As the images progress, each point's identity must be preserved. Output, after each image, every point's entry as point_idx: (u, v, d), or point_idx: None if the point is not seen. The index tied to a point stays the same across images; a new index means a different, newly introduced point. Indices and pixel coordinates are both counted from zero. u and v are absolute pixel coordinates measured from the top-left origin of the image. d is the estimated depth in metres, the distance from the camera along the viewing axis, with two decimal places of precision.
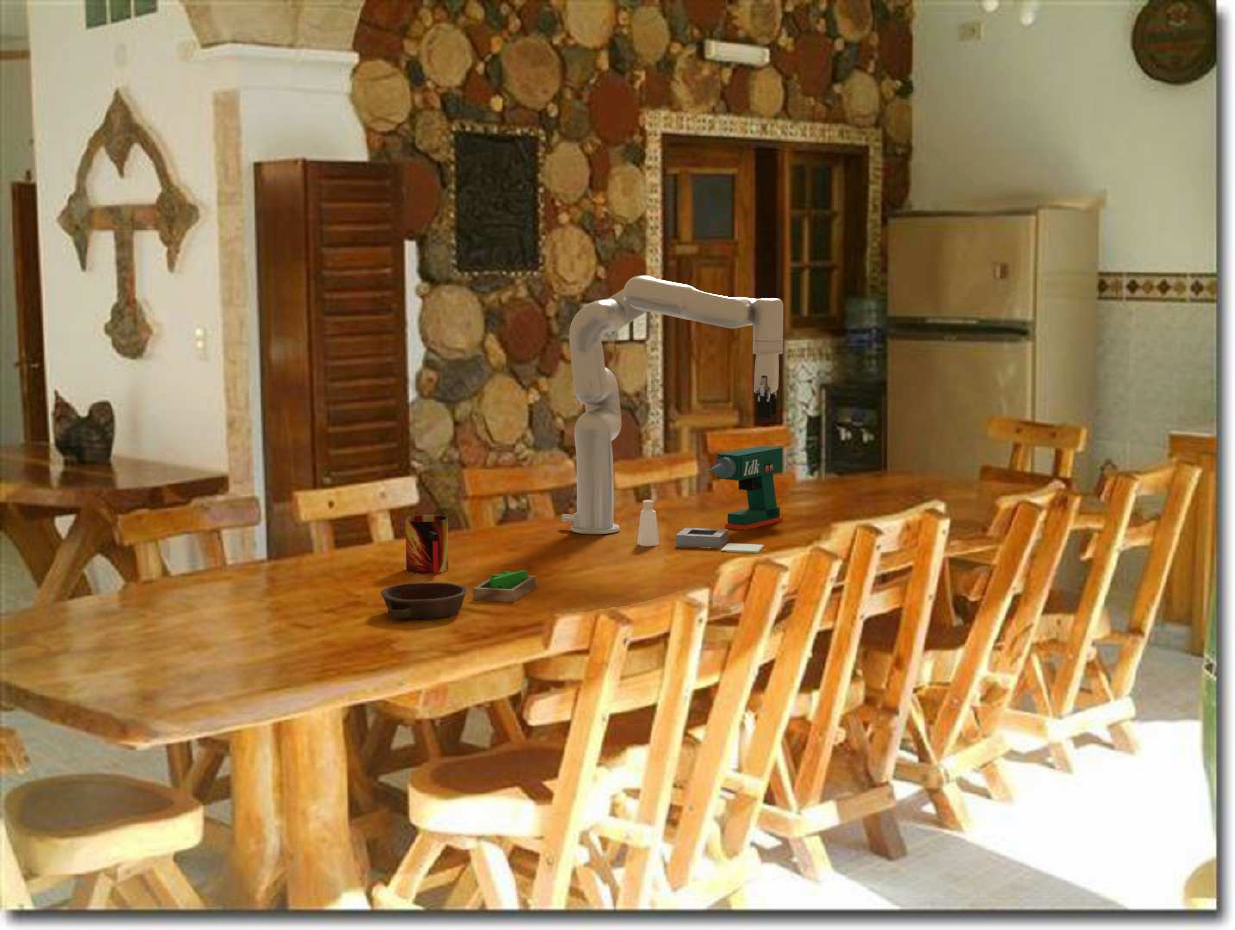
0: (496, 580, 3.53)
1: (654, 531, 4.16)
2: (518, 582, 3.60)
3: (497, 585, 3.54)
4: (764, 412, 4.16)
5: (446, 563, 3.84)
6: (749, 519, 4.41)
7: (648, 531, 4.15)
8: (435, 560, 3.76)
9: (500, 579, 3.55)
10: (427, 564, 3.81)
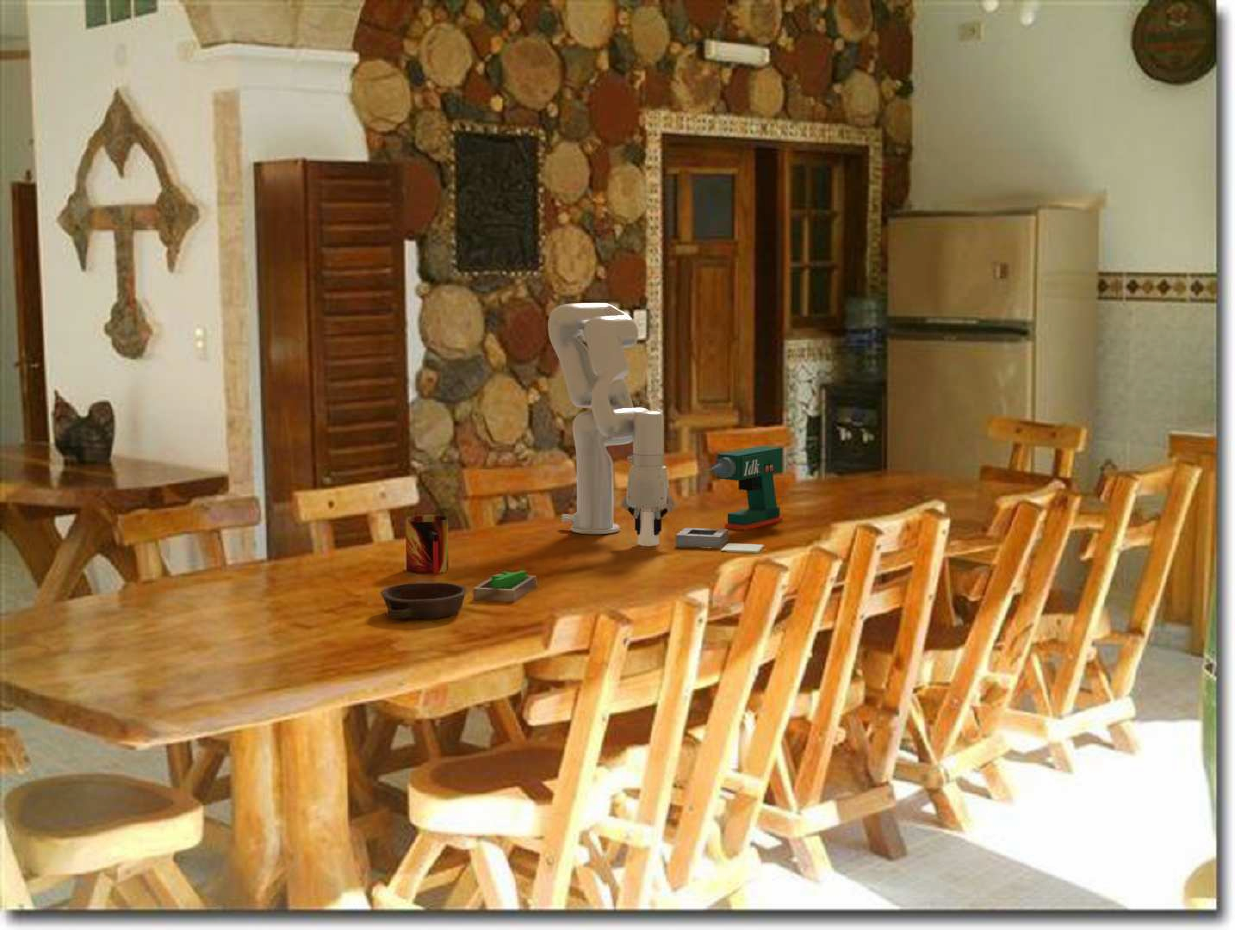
0: (499, 581, 3.53)
1: None
2: (519, 582, 3.59)
3: (500, 586, 3.53)
4: (661, 528, 4.17)
5: (446, 563, 3.84)
6: (749, 519, 4.41)
7: (648, 531, 4.15)
8: (435, 560, 3.76)
9: (503, 580, 3.54)
10: (427, 564, 3.81)
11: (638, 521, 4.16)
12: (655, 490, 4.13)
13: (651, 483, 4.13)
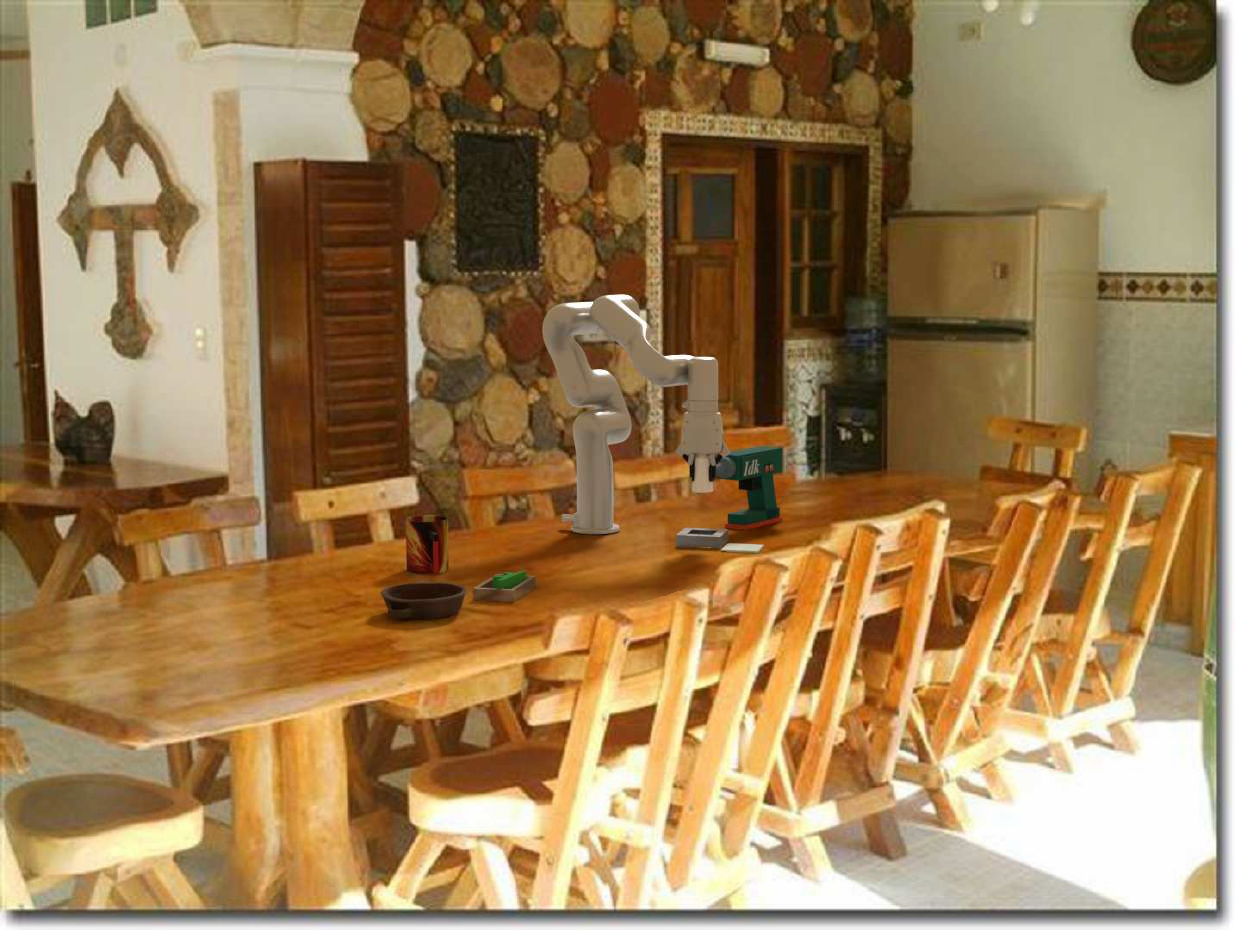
0: (502, 581, 3.52)
1: None
2: (519, 583, 3.59)
3: (503, 586, 3.53)
4: (715, 475, 4.15)
5: (446, 563, 3.84)
6: (749, 519, 4.41)
7: (703, 477, 4.13)
8: (435, 560, 3.76)
9: (505, 580, 3.53)
10: (427, 564, 3.80)
11: (693, 468, 4.14)
12: (710, 436, 4.11)
13: (706, 429, 4.11)
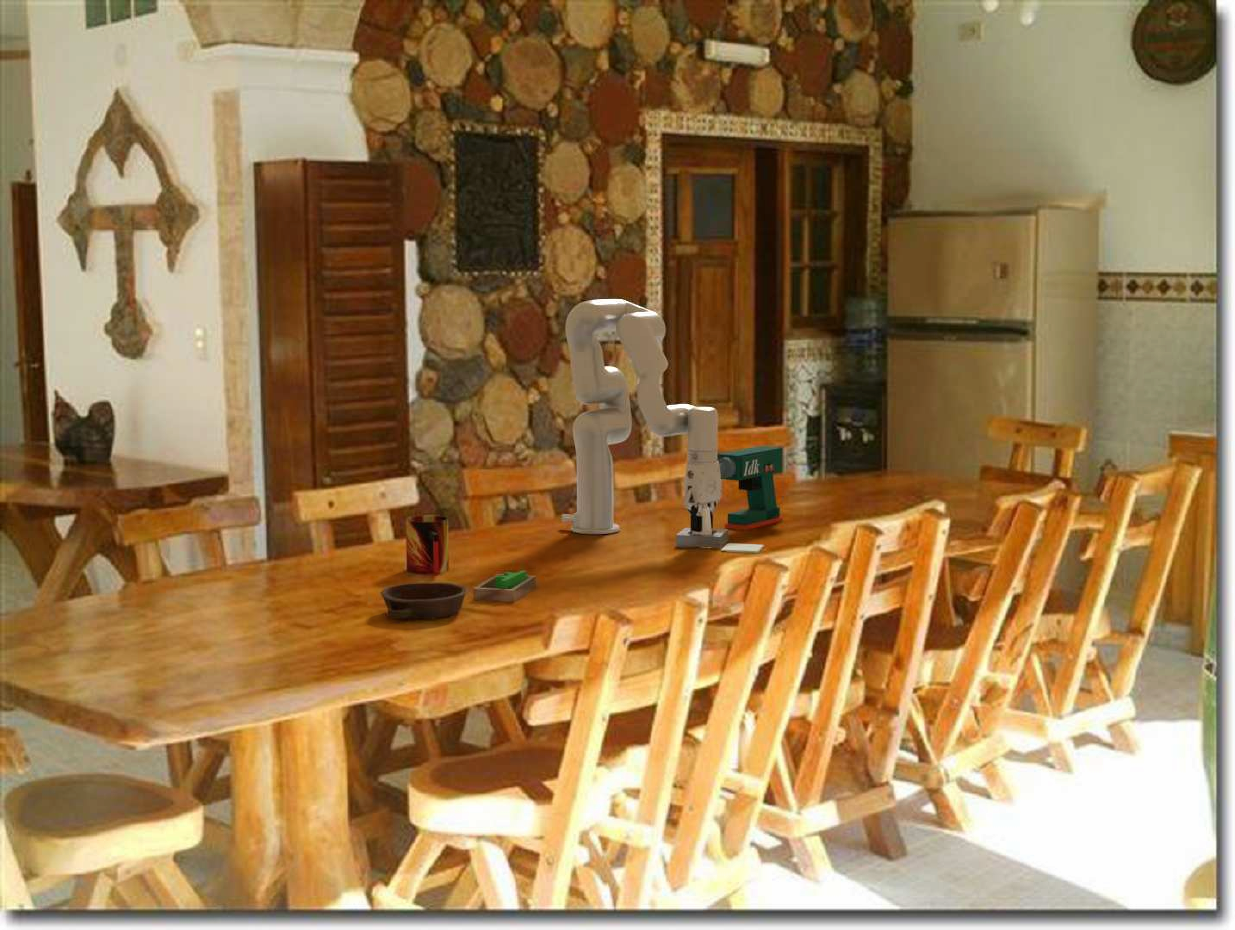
0: (506, 581, 3.52)
1: None
2: None
3: (507, 586, 3.52)
4: None
5: (446, 563, 3.84)
6: (749, 519, 4.41)
7: (710, 526, 4.16)
8: (436, 560, 3.76)
9: (509, 580, 3.53)
10: (427, 564, 3.80)
11: (701, 518, 4.14)
12: (717, 484, 4.16)
13: (714, 478, 4.15)
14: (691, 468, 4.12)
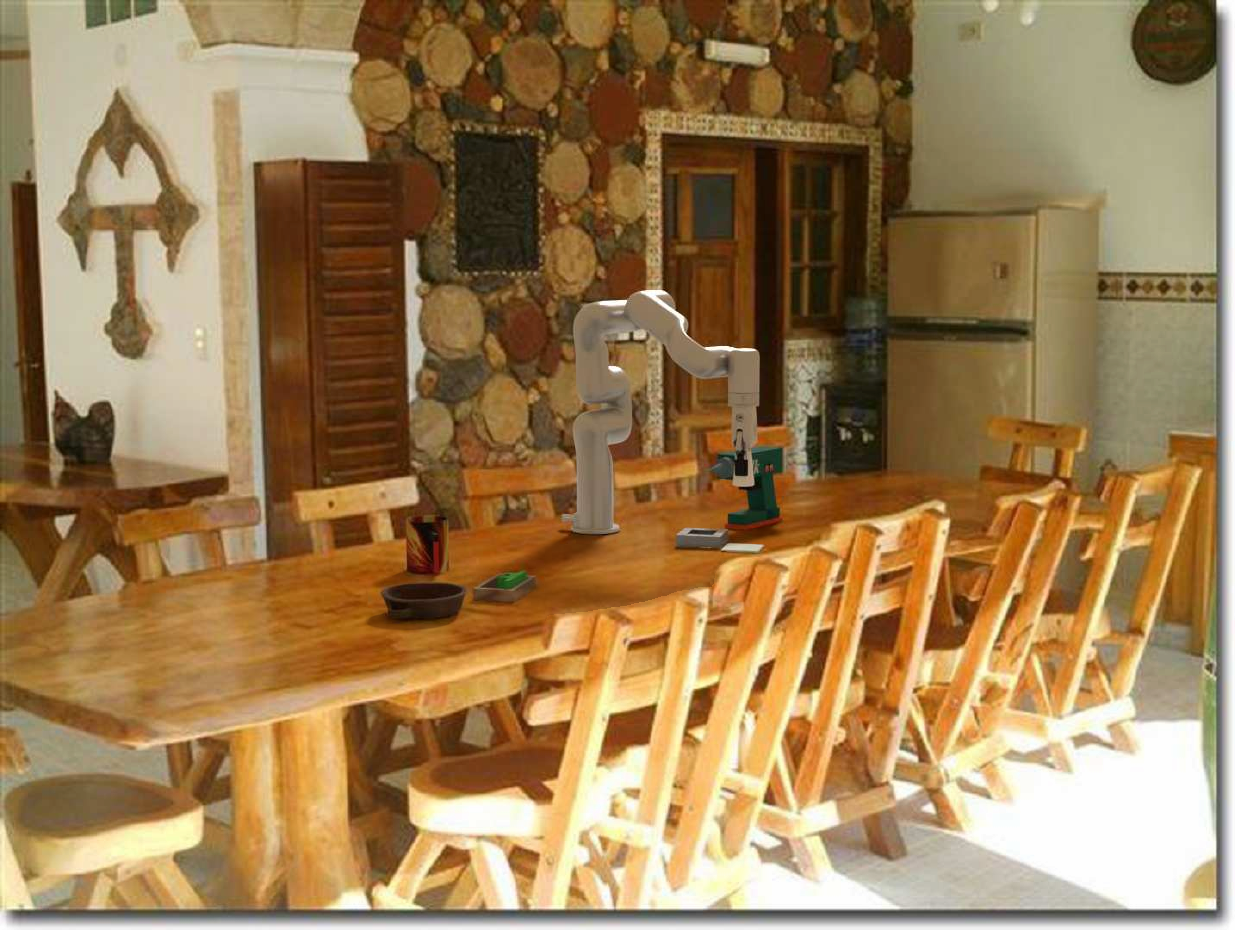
0: (510, 582, 3.52)
1: None
2: None
3: (510, 587, 3.52)
4: None
5: (447, 564, 3.84)
6: (749, 519, 4.41)
7: (752, 470, 4.08)
8: (436, 561, 3.75)
9: (512, 580, 3.53)
10: (428, 565, 3.80)
11: (747, 462, 4.06)
12: (756, 427, 4.09)
13: (755, 420, 4.07)
14: (740, 411, 4.02)
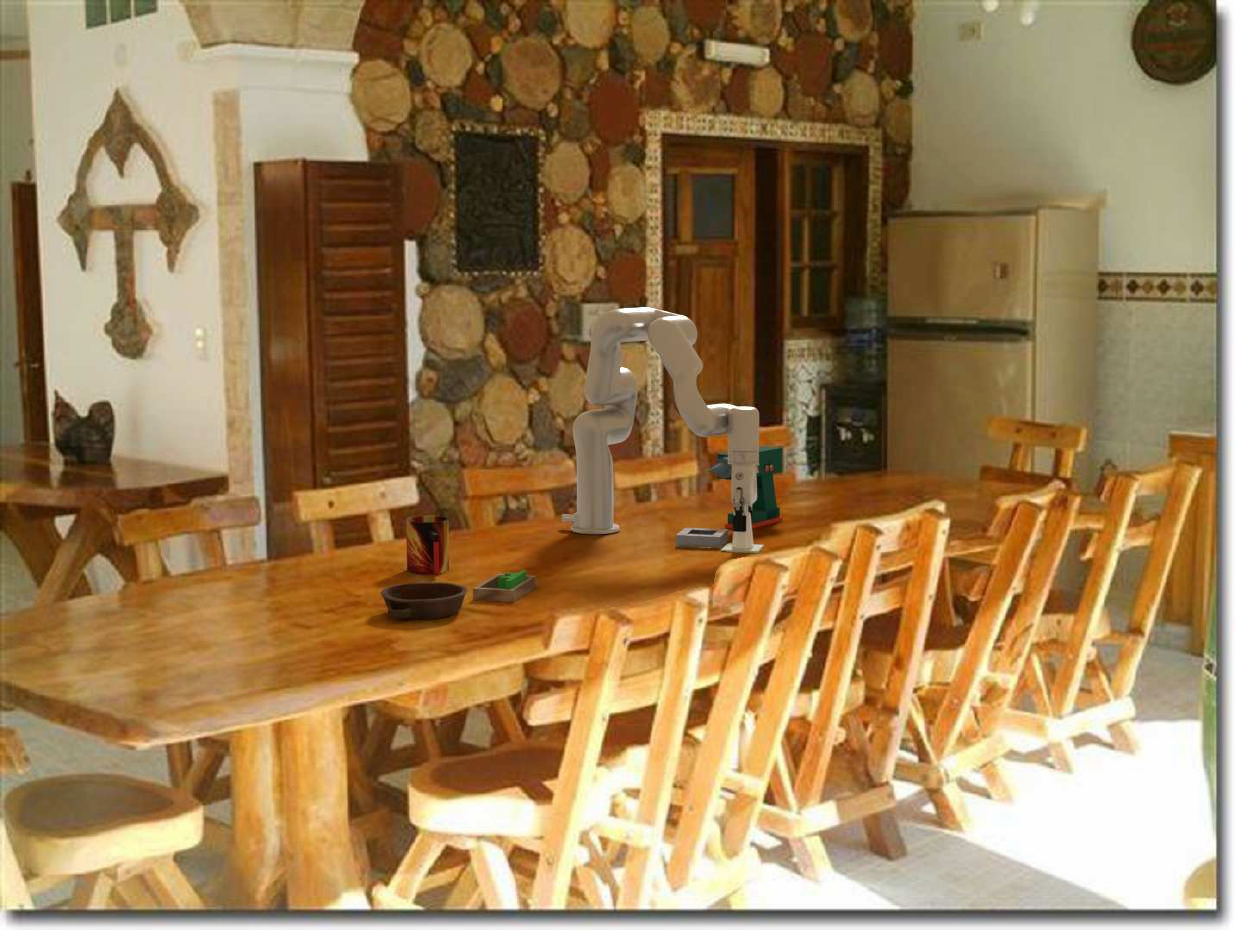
0: (511, 582, 3.52)
1: None
2: None
3: (511, 586, 3.52)
4: None
5: (447, 564, 3.83)
6: None
7: None
8: (436, 561, 3.75)
9: (513, 580, 3.53)
10: (428, 565, 3.80)
11: None
12: None
13: (755, 478, 4.09)
14: (740, 469, 4.04)
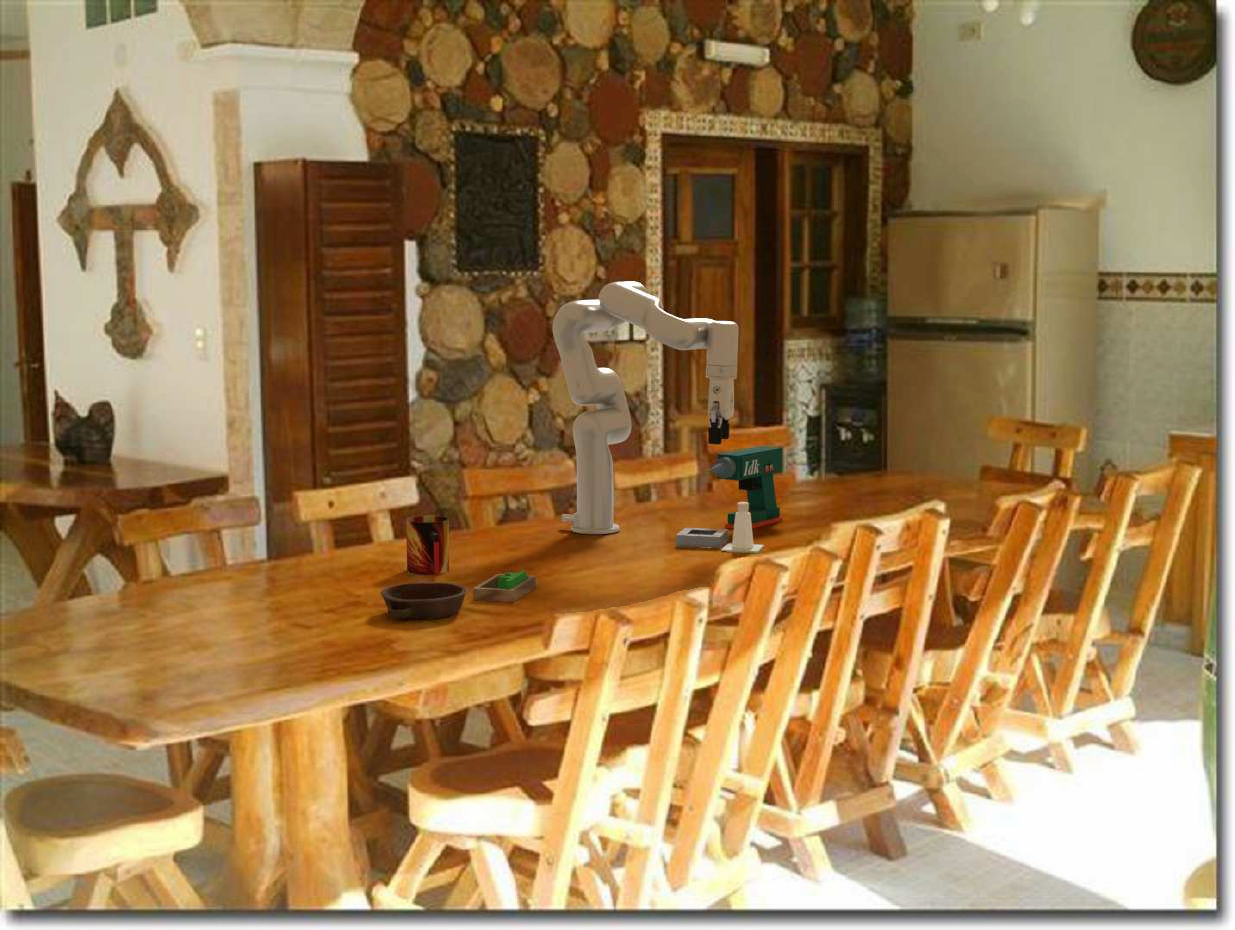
0: (511, 582, 3.52)
1: None
2: None
3: (511, 587, 3.52)
4: None
5: (447, 564, 3.83)
6: None
7: None
8: (436, 561, 3.75)
9: (513, 580, 3.53)
10: (428, 565, 3.80)
11: (721, 430, 4.06)
12: (733, 399, 4.12)
13: (732, 393, 4.11)
14: (717, 383, 4.05)
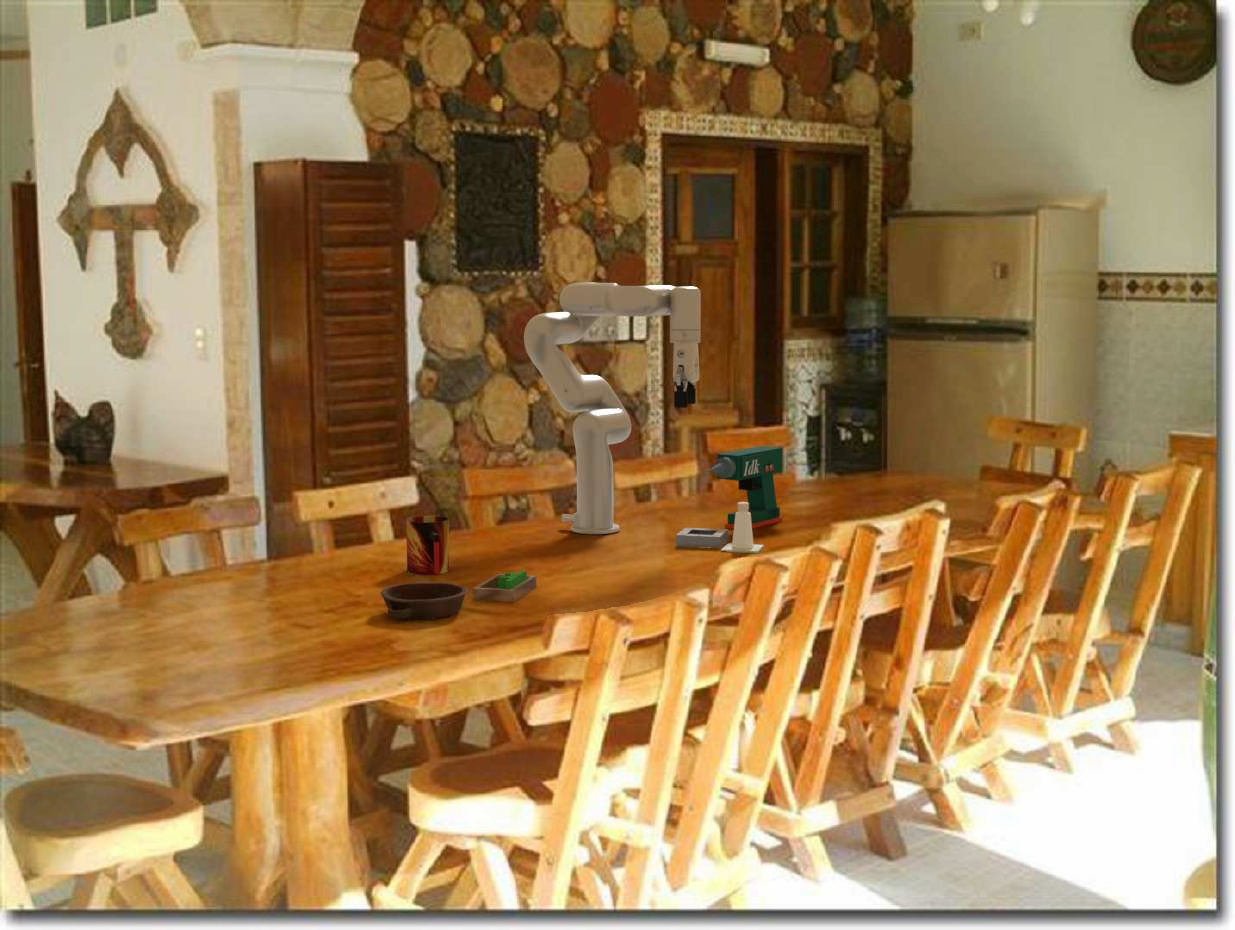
0: (511, 581, 3.52)
1: None
2: None
3: (511, 586, 3.52)
4: None
5: (447, 564, 3.83)
6: None
7: None
8: (436, 561, 3.75)
9: (513, 580, 3.53)
10: (428, 565, 3.80)
11: (687, 394, 4.12)
12: (698, 364, 4.17)
13: (697, 357, 4.16)
14: (681, 347, 4.11)
